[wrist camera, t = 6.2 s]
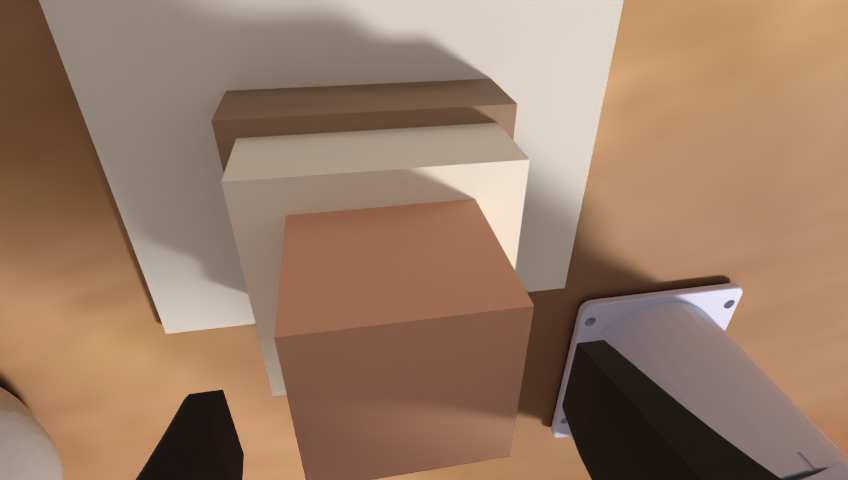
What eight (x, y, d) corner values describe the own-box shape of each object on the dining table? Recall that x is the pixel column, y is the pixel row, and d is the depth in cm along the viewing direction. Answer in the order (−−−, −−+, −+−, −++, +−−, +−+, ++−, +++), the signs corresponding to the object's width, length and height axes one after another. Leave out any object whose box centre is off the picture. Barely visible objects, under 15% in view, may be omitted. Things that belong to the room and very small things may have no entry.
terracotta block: (466, 333, 15) (509, 456, 11) (309, 354, 14) (308, 490, 11) (475, 198, 12) (534, 306, 9) (285, 215, 11) (274, 338, 8)
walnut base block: (475, 279, 20) (493, 321, 18) (270, 301, 19) (265, 349, 17) (490, 78, 16) (517, 103, 14) (225, 90, 15) (211, 120, 12)
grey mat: (560, 282, 22) (564, 287, 21) (168, 326, 19) (166, 333, 19) (707, -460, 11) (720, -472, 10) (-168, -575, 8) (-188, -595, 8)
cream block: (480, 312, 18) (502, 365, 16) (278, 336, 17) (273, 396, 15) (498, 122, 14) (529, 159, 12) (235, 138, 13) (220, 181, 11)
